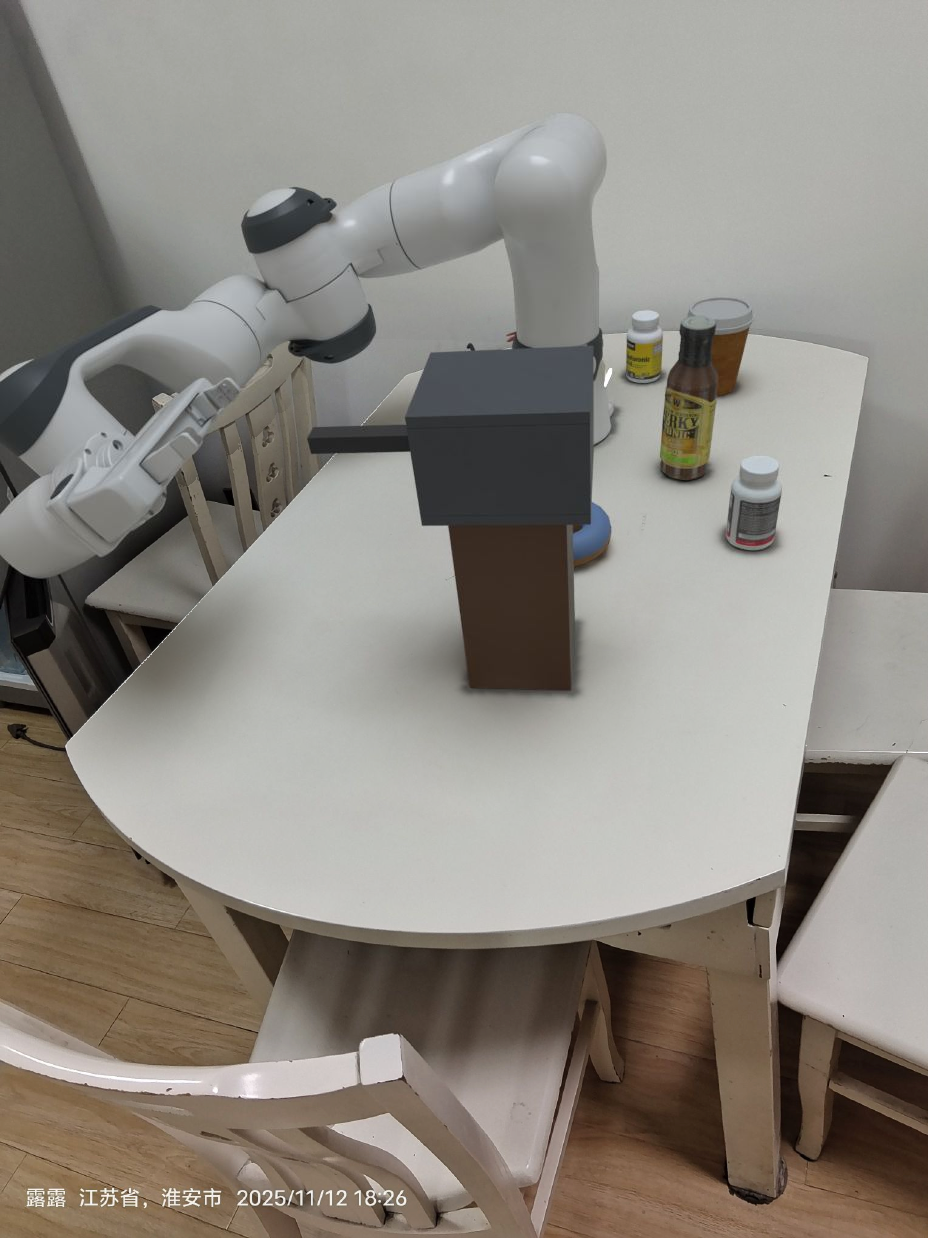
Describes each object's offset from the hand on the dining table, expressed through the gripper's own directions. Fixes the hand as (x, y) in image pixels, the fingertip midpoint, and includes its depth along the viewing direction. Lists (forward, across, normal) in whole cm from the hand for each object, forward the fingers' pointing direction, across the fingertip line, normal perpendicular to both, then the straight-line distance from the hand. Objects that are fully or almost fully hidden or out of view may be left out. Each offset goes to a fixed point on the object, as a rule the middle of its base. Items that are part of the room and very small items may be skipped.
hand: (215, 410), depth 74 cm
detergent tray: (+14, 0, -15) cm, 21 cm away
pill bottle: (+29, -21, -49) cm, 61 cm away
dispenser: (+8, 0, -37) cm, 38 cm away
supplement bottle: (+19, -65, -44) cm, 81 cm away
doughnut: (+11, -19, -39) cm, 45 cm away
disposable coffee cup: (+28, -60, -49) cm, 83 cm away
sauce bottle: (+23, -36, -46) cm, 63 cm away
